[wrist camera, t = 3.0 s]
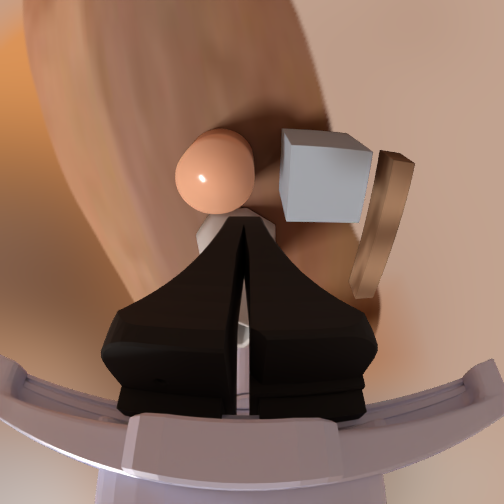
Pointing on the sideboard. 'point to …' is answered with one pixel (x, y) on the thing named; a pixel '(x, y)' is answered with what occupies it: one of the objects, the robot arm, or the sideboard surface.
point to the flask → (203, 240)
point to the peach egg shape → (216, 172)
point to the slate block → (322, 176)
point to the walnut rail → (381, 221)
